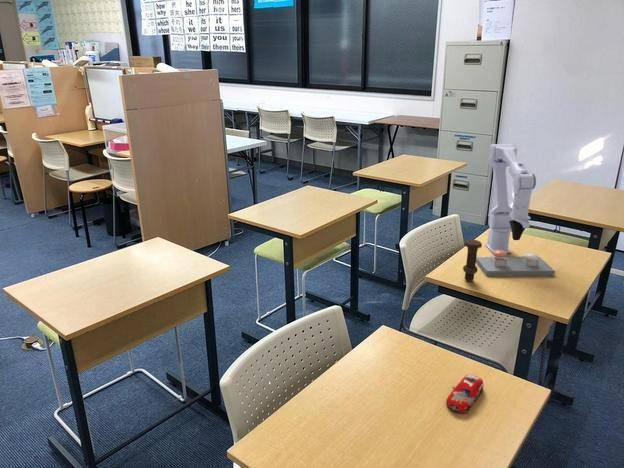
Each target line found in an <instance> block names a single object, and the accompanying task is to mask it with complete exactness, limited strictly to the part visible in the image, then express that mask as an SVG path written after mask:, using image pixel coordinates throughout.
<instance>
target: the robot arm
mask: <svg viewBox="0 0 624 468" xmlns="http://www.w3.org/2000/svg"><path fill="white" fill-rule="evenodd" d="M487 153H488V156H487V158H488V164H489V165H488V166H489V167H491V168H492V173H493V174H492V175H493V187H494V202H495V206H494V207H493V208H491V210H490V211H489V213H488V221H487V222H488V227H489V230H488V236H487V237H488V238H487V243H484V245H485V247H487V249H488V250H489V251H490V252H491V253H492V254H493V251H494V250H503V251H506V252H507V254H509V253H510V254H511V253H512V251H511V249H510V248H509V243H510V237H512V240H513V241H520V239H521V237H522V235H523V234H524V231H525V230H526V229H530V225H531V223H530V221H529V220H531V216H530V215H529V210H530V205H531V203H530V202H531V196H532V191H533V190H534V189H535V188H536V185H537V178H536V174H535V173H533V172H532V173H531V172H529V171H528V169H527V168H526V166H525V164H524V163H523V162H522V161H519V159H518V156H517V154H518V147H517V145H516V143H504V144H503V143H499V144H497V143H491V144H490V146H489V148H488V152H487ZM508 167H509V168H508ZM507 168H508V173H509V174H510V176H511V177H512V179H513V180H512V181H513V182H512V186H513V189H512V192H513V193H514V194H513V200H512V202H513V203H512V207H511V206H509V198H508V197H509V196H508V183H507V181H508V180H507V171H506V169H507Z"/></svg>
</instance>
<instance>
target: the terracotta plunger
mask: <svg viewBox="0 0 624 468" xmlns="http://www.w3.org/2000/svg"><path fill="white" fill-rule="evenodd" d="M507 254H508V253H507V252H506V251H503V250H494V251H493V253H492V255H493V256H496V260H502V259H503V257H507Z"/></svg>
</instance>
